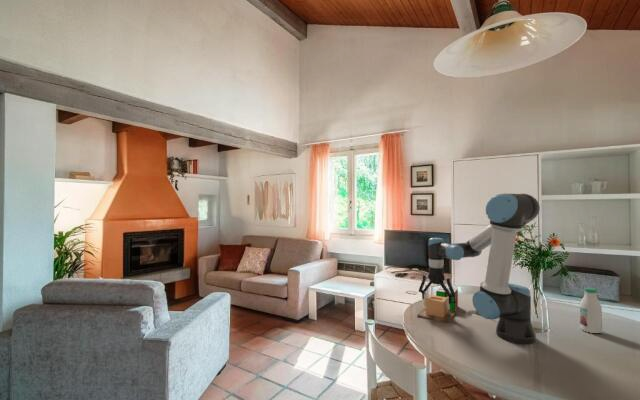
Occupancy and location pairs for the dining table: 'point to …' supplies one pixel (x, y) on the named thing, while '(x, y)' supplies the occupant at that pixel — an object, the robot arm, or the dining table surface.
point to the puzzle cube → (442, 293)
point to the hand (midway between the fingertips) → (436, 307)
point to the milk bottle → (590, 312)
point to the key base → (446, 319)
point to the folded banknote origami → (472, 312)
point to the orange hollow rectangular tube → (436, 306)
